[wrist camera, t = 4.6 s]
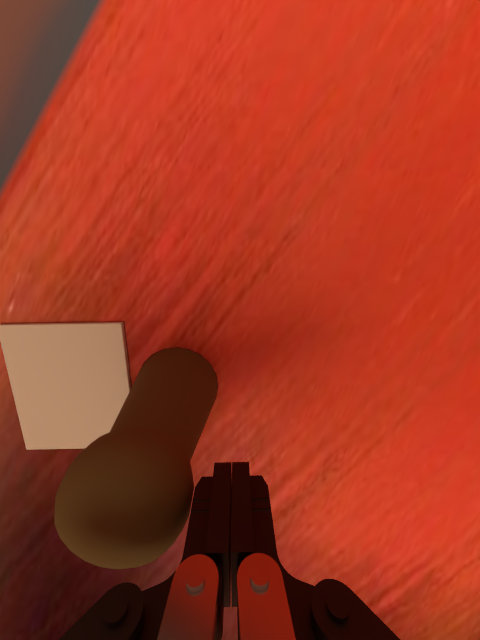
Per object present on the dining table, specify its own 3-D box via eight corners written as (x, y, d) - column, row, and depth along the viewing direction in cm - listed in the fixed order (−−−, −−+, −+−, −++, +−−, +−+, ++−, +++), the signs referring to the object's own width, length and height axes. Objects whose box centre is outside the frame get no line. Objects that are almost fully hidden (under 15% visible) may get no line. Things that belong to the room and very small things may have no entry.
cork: (187, 434, 21) (136, 622, 10) (122, 392, 20) (-11, 551, 9) (234, 378, 20) (231, 523, 9) (167, 331, 19) (74, 431, 8)
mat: (123, 321, 19) (121, 323, 18) (138, 443, 21) (136, 447, 21) (1, 323, 18) (-4, 325, 18) (30, 445, 21) (26, 449, 20)
